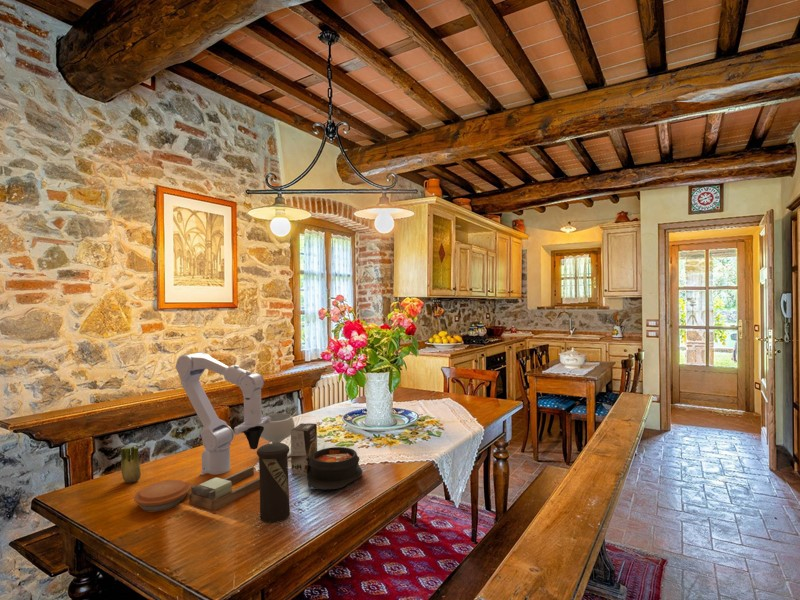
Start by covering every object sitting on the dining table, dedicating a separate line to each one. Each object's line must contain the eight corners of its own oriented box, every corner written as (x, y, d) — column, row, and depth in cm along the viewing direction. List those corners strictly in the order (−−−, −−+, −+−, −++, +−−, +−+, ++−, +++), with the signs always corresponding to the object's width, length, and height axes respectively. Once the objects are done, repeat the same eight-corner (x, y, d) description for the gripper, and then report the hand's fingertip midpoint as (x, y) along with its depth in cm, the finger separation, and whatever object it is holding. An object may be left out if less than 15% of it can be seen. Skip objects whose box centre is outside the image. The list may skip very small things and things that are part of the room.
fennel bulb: (119, 482, 151) (118, 447, 151) (133, 477, 155) (132, 443, 155) (129, 485, 148) (128, 450, 148) (143, 480, 153) (142, 445, 153)
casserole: (320, 463, 164) (319, 441, 164) (369, 465, 161) (368, 442, 161) (294, 494, 139) (294, 467, 139) (352, 496, 137) (351, 469, 137)
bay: (187, 507, 132) (186, 485, 132) (251, 476, 154) (250, 457, 154) (213, 515, 127) (212, 492, 127) (275, 482, 149) (274, 463, 149)
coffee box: (308, 477, 152) (307, 430, 151) (290, 476, 153) (289, 430, 153) (318, 467, 160) (317, 423, 160) (301, 466, 162) (300, 422, 162)
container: (274, 526, 120) (272, 453, 120) (251, 518, 125) (249, 447, 124) (297, 513, 127) (295, 443, 127) (275, 505, 132) (273, 438, 132)
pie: (160, 519, 126) (160, 501, 126) (121, 511, 131) (121, 494, 131) (202, 495, 140) (202, 479, 140) (165, 489, 146) (165, 473, 145)
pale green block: (198, 501, 133) (198, 484, 133) (216, 492, 139) (215, 477, 139) (215, 506, 130) (214, 489, 130) (232, 497, 135) (231, 481, 135)
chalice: (250, 458, 171) (249, 419, 171) (277, 447, 183) (277, 410, 183) (275, 464, 164) (274, 424, 164) (302, 452, 176) (301, 415, 176)
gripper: (244, 415, 145) (245, 457, 145) (276, 405, 157) (277, 443, 157) (229, 413, 148) (230, 454, 148) (262, 403, 161) (263, 440, 161)
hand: (253, 448), depth 153 cm, fingers closed
